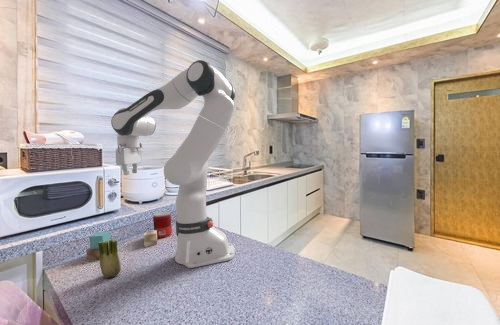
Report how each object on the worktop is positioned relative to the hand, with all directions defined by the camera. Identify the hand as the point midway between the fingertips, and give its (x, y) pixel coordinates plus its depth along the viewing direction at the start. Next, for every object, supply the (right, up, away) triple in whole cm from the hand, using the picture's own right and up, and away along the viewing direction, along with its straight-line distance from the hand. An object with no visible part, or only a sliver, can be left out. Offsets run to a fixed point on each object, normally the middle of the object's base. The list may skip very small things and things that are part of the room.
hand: (130, 174), depth 103 cm
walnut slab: (-4, -32, -14) cm, 35 cm away
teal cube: (-5, -28, -14) cm, 32 cm away
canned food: (+13, -31, +5) cm, 34 cm away
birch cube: (+11, -31, -4) cm, 33 cm away
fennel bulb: (+10, -32, -30) cm, 45 cm away
